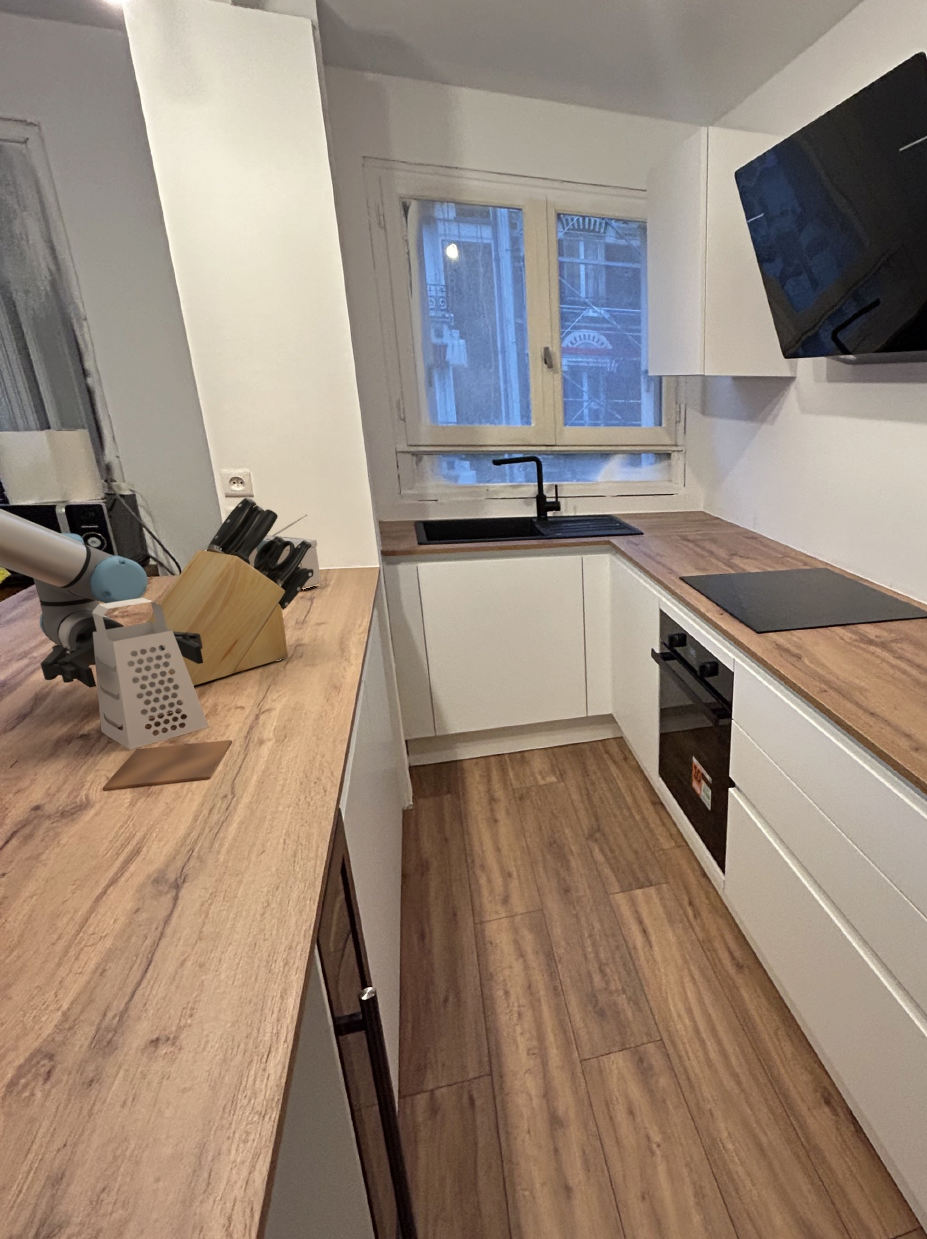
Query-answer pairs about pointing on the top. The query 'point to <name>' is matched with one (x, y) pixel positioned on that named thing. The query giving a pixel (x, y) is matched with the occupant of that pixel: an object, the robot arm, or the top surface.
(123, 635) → the grater
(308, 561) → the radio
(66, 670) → the robot arm
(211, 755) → the cork trivet
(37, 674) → the top surface
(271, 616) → the knife block
